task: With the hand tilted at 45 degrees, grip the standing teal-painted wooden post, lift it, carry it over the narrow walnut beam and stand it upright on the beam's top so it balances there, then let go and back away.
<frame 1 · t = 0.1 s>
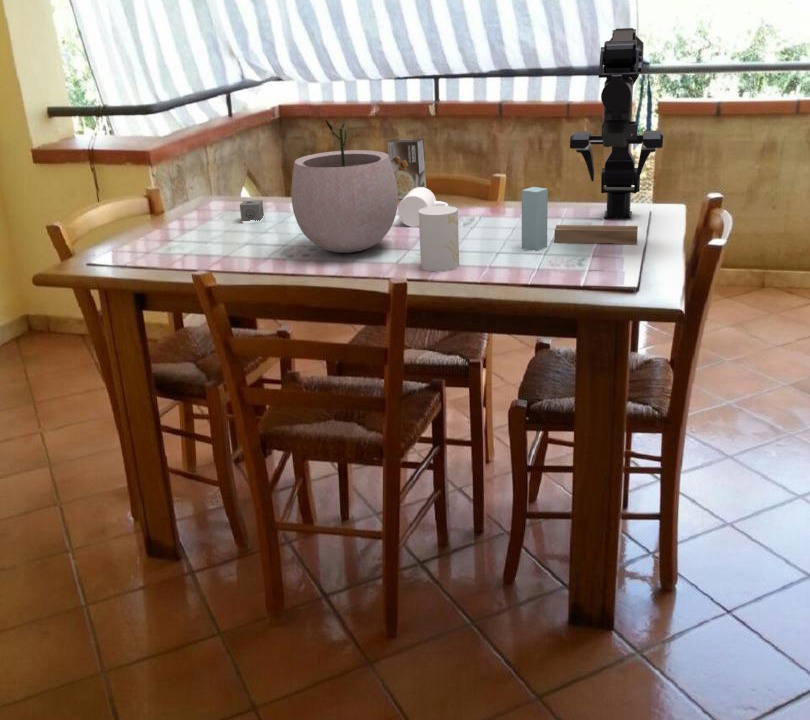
hand: (614, 181, 186), 15 cm above the table, tool pointing down, fingers open, 9 cm apart
beam: (595, 240, 198), on the table
plant pot: (349, 250, 202), on the table
mug: (426, 223, 222), on the table
dice cube: (253, 221, 233), on the table
coffee box: (409, 197, 250), on the table
white cylinder: (440, 266, 186), on the table
post: (534, 247, 195), on the table
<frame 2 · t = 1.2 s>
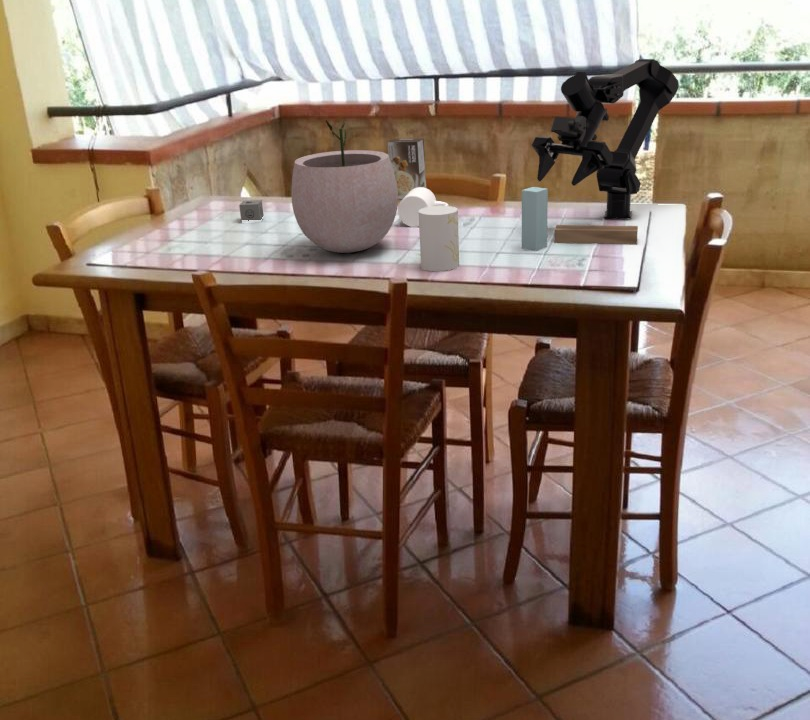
hand: (555, 182, 195), 13 cm above the table, tool tilted 45°, fingers open, 9 cm apart
nothing on the table moved.
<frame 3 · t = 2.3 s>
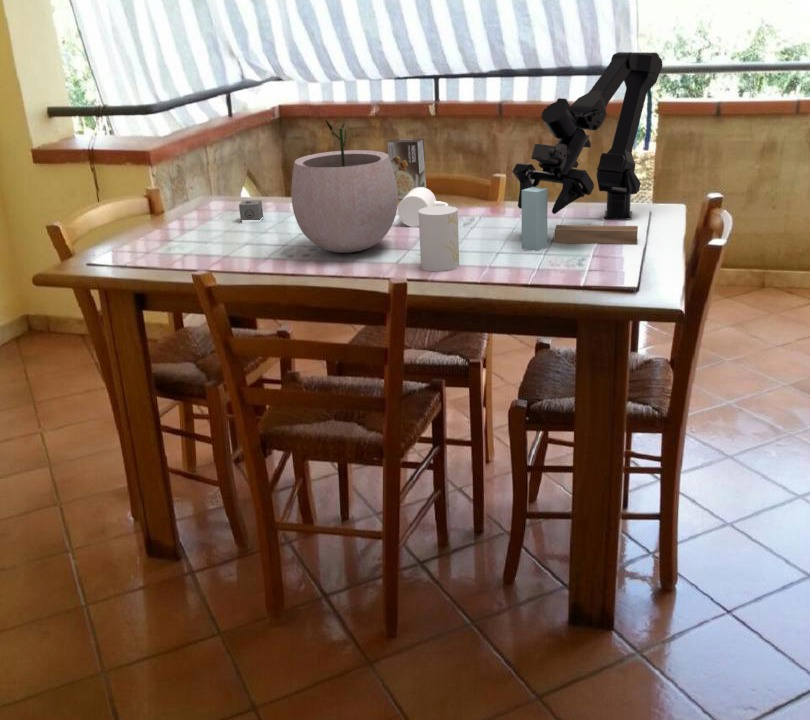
hand: (535, 210, 192), 8 cm above the table, tool tilted 45°, fingers open, 9 cm apart
nothing on the table moved.
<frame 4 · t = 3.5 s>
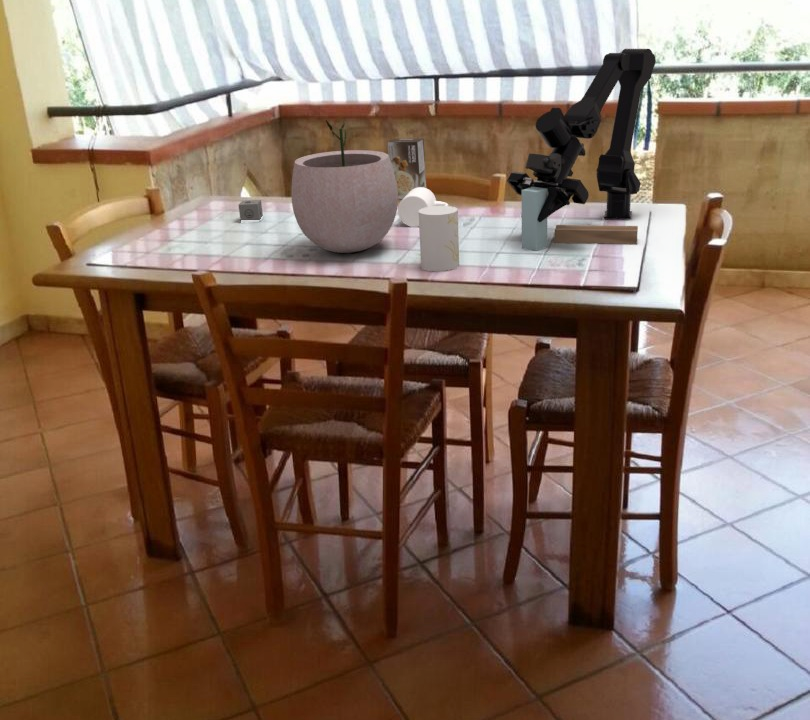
hand: (530, 219, 192), 7 cm above the table, tool tilted 45°, fingers closed on post, 4 cm apart
post: (534, 247, 195), on the table, touching gripper
everything else where it was.
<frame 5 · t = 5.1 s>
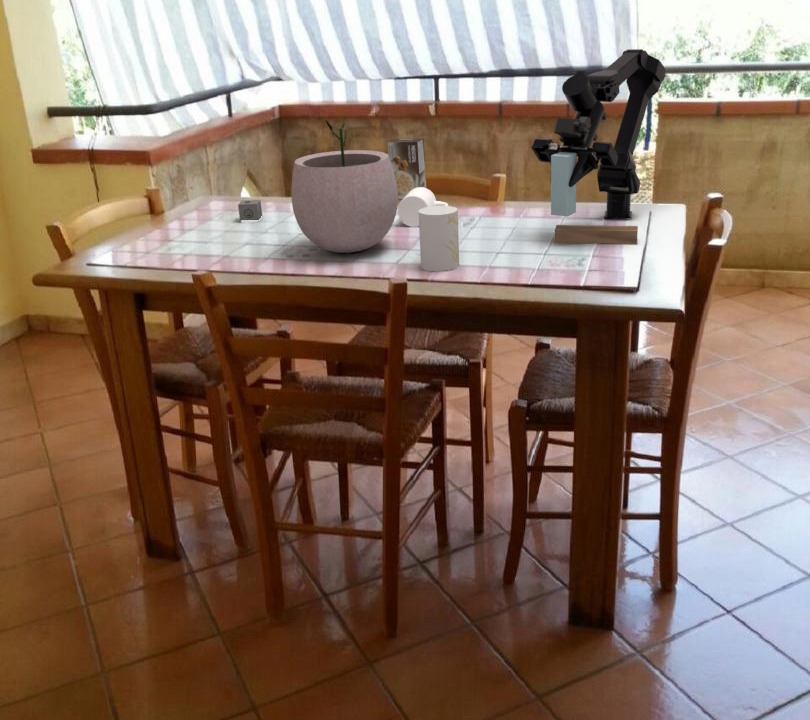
hand: (560, 185, 190), 14 cm above the table, tool tilted 45°, fingers closed on post, 4 cm apart
post: (563, 213, 194), point 7 cm above the table, touching gripper
everything else where it was.
when the fingers open (10 cm above the table, at t = 6.6 s): post stays where it is, resting on beam.
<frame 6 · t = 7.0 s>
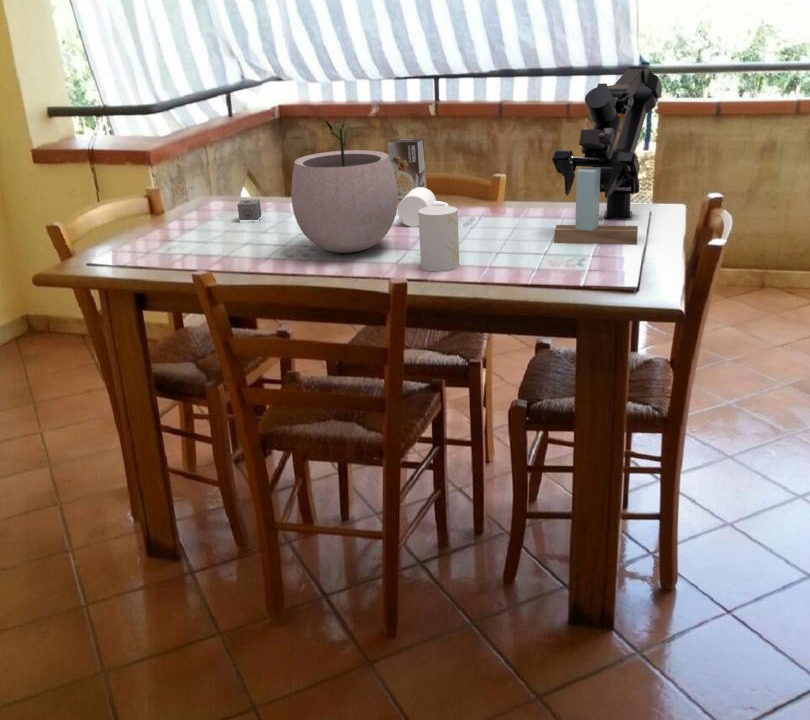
hand: (585, 195, 193), 11 cm above the table, tool tilted 45°, fingers open, 9 cm apart
post: (586, 227, 197), point 3 cm above the table, touching beam
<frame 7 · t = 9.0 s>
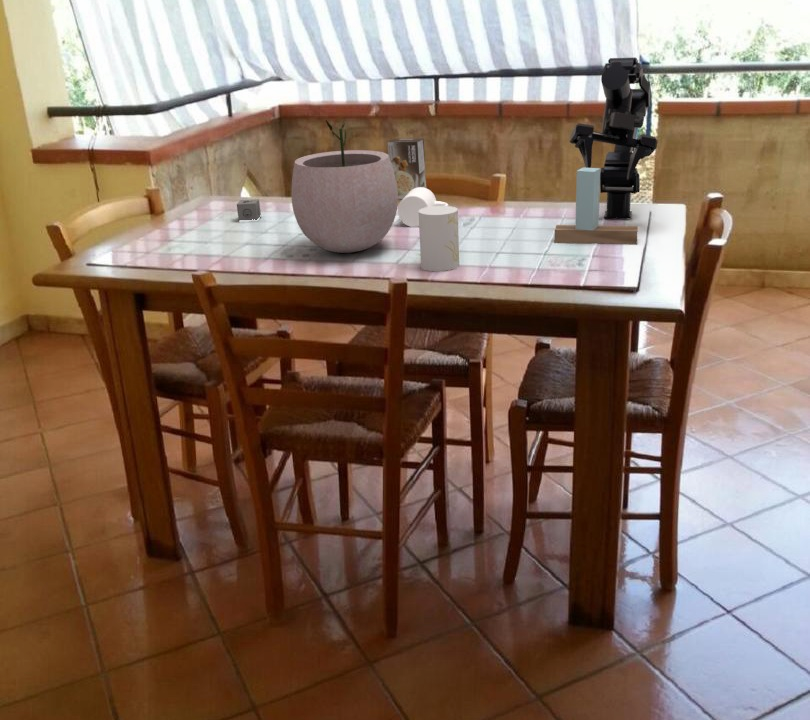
hand: (608, 175, 197), 13 cm above the table, tool tilted 35°, fingers open, 9 cm apart
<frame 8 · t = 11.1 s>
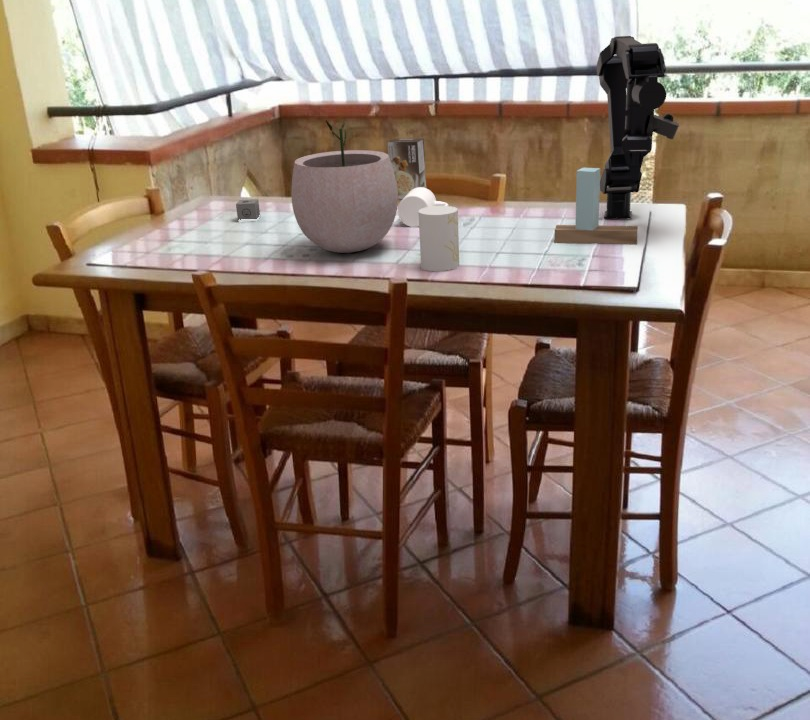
hand: (635, 175, 198), 13 cm above the table, tool pointing down, fingers open, 9 cm apart
at the end: post inside the target area on the beam (2.0 cm from its centre), point 3.0 cm above the beam's base; post tilted 0°; post touching beam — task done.
